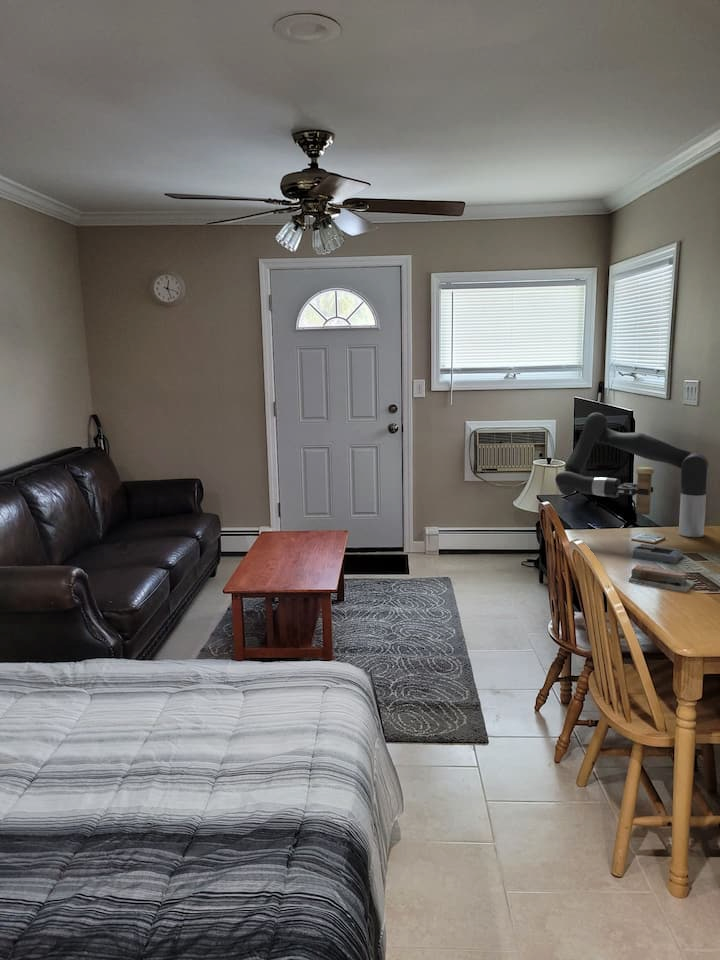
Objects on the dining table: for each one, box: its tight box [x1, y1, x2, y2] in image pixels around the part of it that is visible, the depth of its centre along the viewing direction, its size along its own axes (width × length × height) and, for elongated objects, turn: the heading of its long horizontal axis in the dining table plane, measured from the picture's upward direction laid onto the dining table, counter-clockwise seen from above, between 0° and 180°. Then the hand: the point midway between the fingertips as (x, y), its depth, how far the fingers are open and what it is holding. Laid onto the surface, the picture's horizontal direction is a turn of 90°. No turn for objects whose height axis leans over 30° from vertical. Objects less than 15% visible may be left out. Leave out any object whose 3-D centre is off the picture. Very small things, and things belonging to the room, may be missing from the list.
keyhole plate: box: [631, 543, 684, 564], centre depth 250 cm, size 12×15×2 cm
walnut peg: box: [635, 466, 655, 516], centre depth 262 cm, size 6×6×18 cm
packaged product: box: [628, 564, 695, 593], centre depth 221 cm, size 18×5×10 cm
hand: (650, 491), depth 261 cm, fingers closed on walnut peg, 5 cm apart
